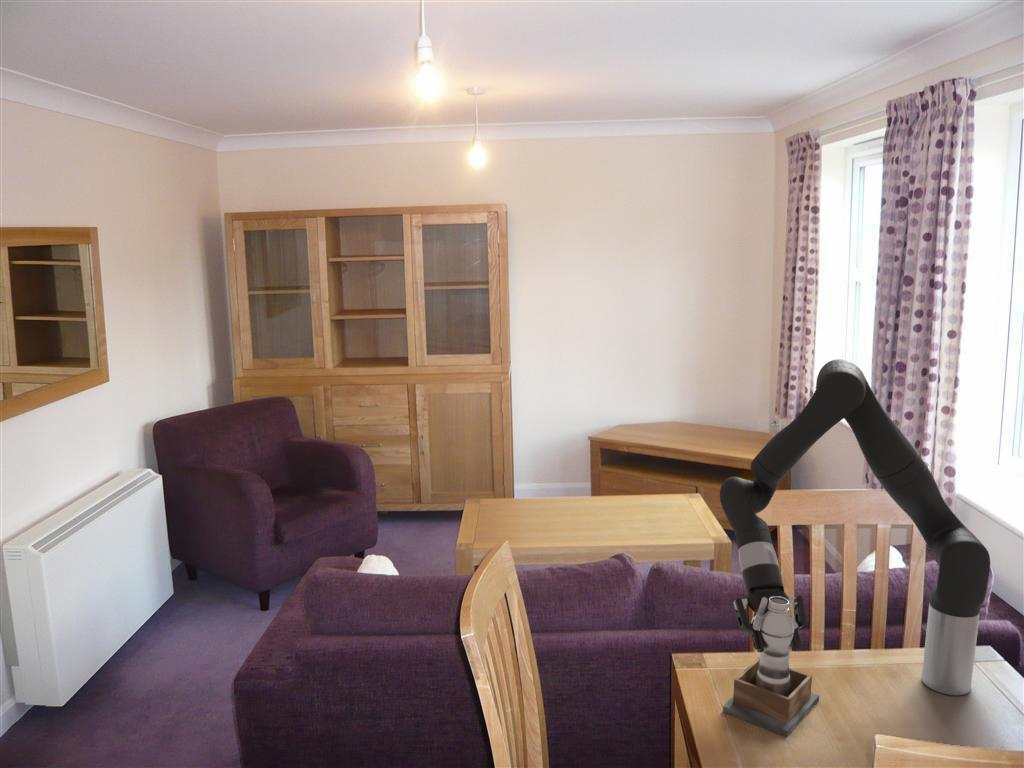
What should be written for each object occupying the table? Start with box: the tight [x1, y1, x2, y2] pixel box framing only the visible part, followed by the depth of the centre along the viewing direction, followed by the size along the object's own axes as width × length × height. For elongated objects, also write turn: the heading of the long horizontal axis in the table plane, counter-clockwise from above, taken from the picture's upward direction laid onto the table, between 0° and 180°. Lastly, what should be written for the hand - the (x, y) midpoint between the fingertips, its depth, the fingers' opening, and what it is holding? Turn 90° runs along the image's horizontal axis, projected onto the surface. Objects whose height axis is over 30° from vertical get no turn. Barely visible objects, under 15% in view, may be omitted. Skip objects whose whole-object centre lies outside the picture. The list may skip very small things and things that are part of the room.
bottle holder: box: [722, 656, 820, 738], centre depth 172 cm, size 16×13×6 cm
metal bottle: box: [756, 597, 794, 696], centre depth 170 cm, size 6×7×20 cm
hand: (778, 650), depth 168 cm, fingers closed on metal bottle, 6 cm apart
